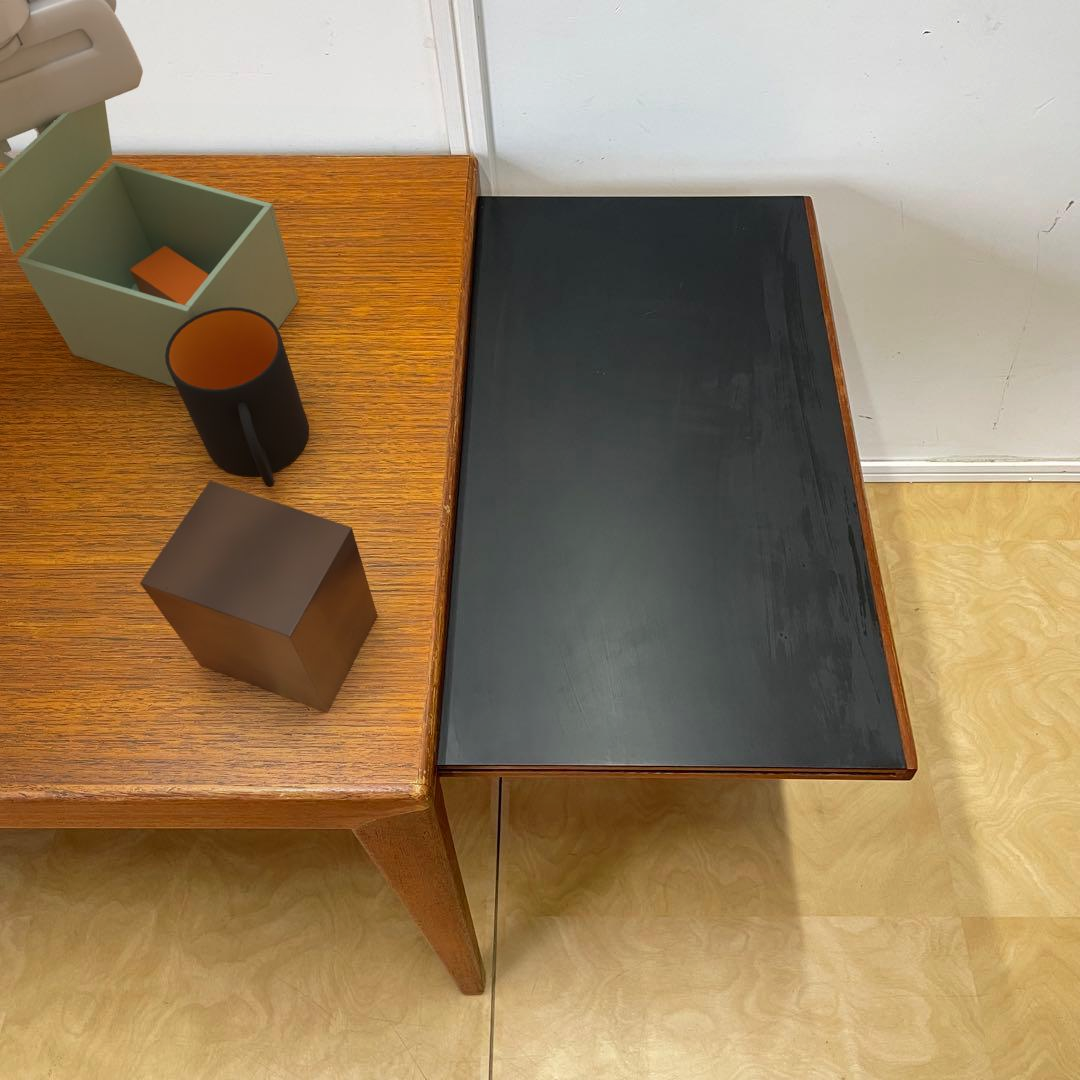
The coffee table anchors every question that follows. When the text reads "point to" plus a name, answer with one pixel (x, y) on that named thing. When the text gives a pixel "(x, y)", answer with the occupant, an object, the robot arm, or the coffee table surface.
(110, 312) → the green box
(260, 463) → the mug
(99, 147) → the flap
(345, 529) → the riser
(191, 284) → the block
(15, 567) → the coffee table surface
